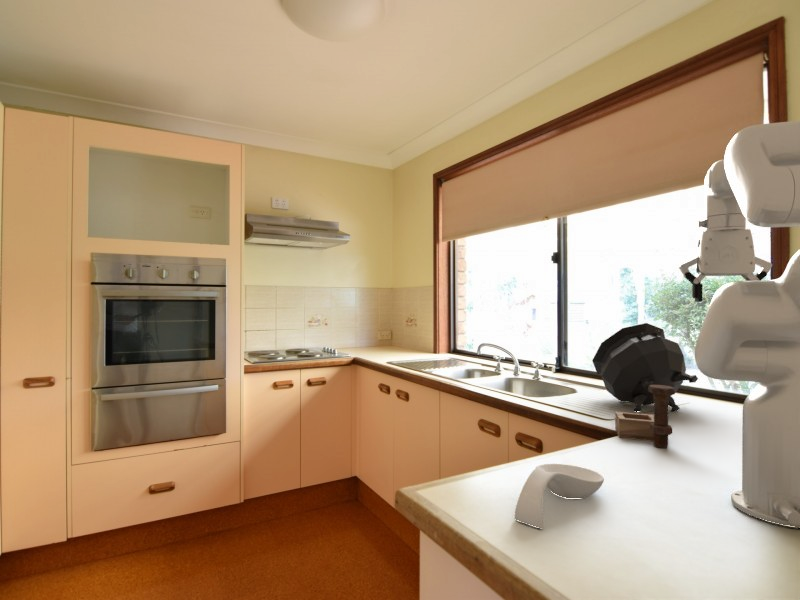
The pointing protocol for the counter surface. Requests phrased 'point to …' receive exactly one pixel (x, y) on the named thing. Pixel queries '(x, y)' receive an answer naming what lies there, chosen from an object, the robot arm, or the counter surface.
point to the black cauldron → (640, 364)
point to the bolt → (661, 414)
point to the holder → (634, 425)
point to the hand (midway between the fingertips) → (723, 301)
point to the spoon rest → (554, 488)
